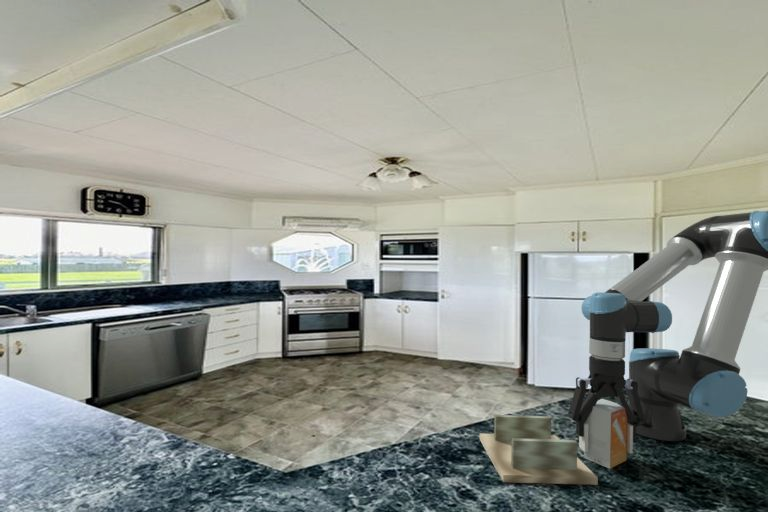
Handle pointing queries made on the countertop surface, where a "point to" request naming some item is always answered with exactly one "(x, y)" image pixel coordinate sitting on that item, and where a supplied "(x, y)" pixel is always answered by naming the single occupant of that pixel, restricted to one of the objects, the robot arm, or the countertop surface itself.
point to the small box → (607, 434)
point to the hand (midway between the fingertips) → (605, 450)
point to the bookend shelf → (534, 452)
